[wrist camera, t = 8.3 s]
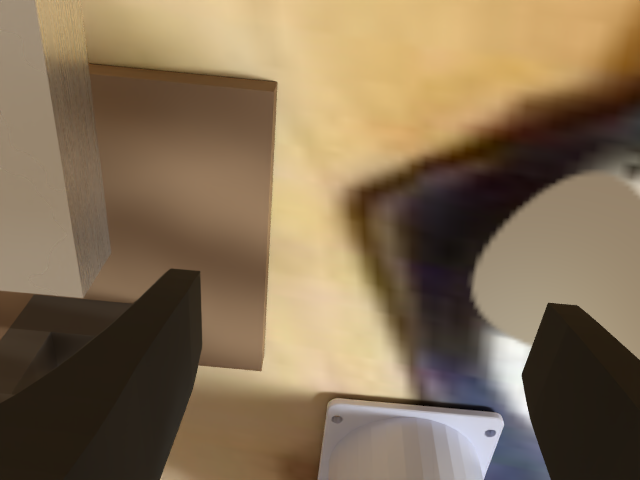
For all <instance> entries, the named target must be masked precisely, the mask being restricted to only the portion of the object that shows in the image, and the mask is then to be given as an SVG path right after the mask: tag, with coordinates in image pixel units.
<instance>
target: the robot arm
mask: <svg viewBox="0 0 640 480" xmlns="http://www.w3.org/2000/svg"><path fill="white" fill-rule="evenodd" d="M201 350H202V313H201V278H200V271H195V270H184V269H173V268H171V269H169V270H168V271H167V272H165V273H164V274H163V275H162V276H161V277H160V278H159V279H158V280H157V281H156V282H155V283H154V284H153V285H152V286H151V287H150V288H149V289H148V290H147V291H146V292H145V293H144V294H143V295H142V296H141V297H140V298H139V299H138V300H136V301H135V302H134V303H133V304H132V305H131V306H130V307H129V308H128V309H127V310H126V311H125V312H123V313H122V314H121V315H120V316H119V317H118V318H117V319H116V320H115V321H113V322H112V323H111V324H110V325H109V326H108V327H107V328H106V329H104V330H103V331H102V332H101V333H100V334H98V335H97V336H96V337H95V338H94V339H92V340H91V341H90V342H89V343H87V344H86V345H85V346H84V347H82V348H81V349H80V350H79V351H77V352H76V353H75V354H74V355H72V356H71V357H70V358H68V359H67V360H66V361H64V362H63V363H62V364H60V365H59V366H58V367H56V368H55V369H54V370H52V371H51V372H49V373H48V374H46V375H45V376H43V377H42V378H41V379H39V380H38V381H36V382H35V383H33V384H32V385H30V386H29V387H27V388H25V389H24V390H22V391H21V392H19V393H17V394H16V395H14V396H12V397H10V398H9V399H7V400H5V401H3V402H2V403H0V480H160V478H161V475H162V472H163V469H164V467H165V464H166V461H167V458H168V456H169V453H170V450H171V447H172V445H173V442H174V439H175V437H176V434H177V431H178V428H179V426H180V423H181V420H182V417H183V415H184V412H185V409H186V406H187V404H188V401H189V398H190V395H191V392H192V389H193V385H194V381H195V377H196V373H197V368H198V364H199V359H200V355H201ZM522 380H523V385H524V391H525V396H526V401H527V406H528V411H529V415H530V420H531V423H532V426H533V429H534V432H535V435H536V438H537V441H538V444H539V447H540V450H541V453H542V455H543V458H544V461H545V464H546V467H547V470H548V473H549V475H550V478H551V480H640V360H639V359H638V358H637V357H636V356H635V355H633V354H632V353H631V352H630V351H629V350H628V349H627V348H626V347H625V346H623V345H622V344H621V343H620V342H619V341H618V340H617V339H616V338H615V337H613V336H612V335H611V334H610V333H609V332H608V331H607V330H606V329H605V328H603V327H602V326H601V325H600V324H599V323H598V322H596V320H594V319H593V318H592V317H591V316H590V315H589V314H587V313H586V312H585V311H584V310H582V309H581V308H580V307H579V306H577V305H566V304H556V303H548V304H547V307H546V310H545V313H544V315H543V318H542V321H541V323H540V326H539V329H538V332H537V334H536V337H535V340H534V342H533V345H532V348H531V351H530V353H529V356H528V359H527V361H526V364H525V367H524V370H523V372H522ZM336 416H340V417H336ZM503 426H504V422H503V419H502V416H501V415H500V414H498V413H495V412H486V411H475V410H464V409H452V408H441V407H430V406H419V405H408V404H397V403H386V402H375V401H364V400H353V399H342V398H335V399H332V400H331V401H329V402H328V405H327V411H326V419H325V426H324V434H323V441H322V449H321V456H320V464H319V471H318V478H317V480H484V477H485V474H486V472H487V469H488V466H489V464H490V461H491V458H492V456H493V453H494V450H495V448H496V445H497V442H498V440H499V437H500V434H501V432H502V429H503ZM490 429H491V430H490Z"/></svg>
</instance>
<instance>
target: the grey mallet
mask: <svg viewBox="0 0 640 480" xmlns="http://www.w3.org/2000/svg"><path fill="white" fill-rule="evenodd" d="M110 254H111V245H110V237H109V228H108V220H107V212H106V204H105V196H104V188H103V179H102V171H101V163H100V155H99V147H98V139H97V130H96V122H95V114H94V106H93V98H92V90H91V82H90V73H89V65H88V57H87V49H86V41H85V33H84V24H83V16H82V8H81V0H0V291H11V292H22V293H33V294H43V295H54V296H65V297H76V298H84V296H85V294H86V293H87V291H88V290H89V288H90V286H91V285H92V283H93V282H94V280H95V278H96V277H97V275H98V273H99V272H100V270H101V269H102V267H103V265H104V264H105V262H106V261H107V259H108V257H109V256H110Z"/></svg>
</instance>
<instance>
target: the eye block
mask: <svg viewBox="0 0 640 480" xmlns="http://www.w3.org/2000/svg"><path fill="white" fill-rule="evenodd" d="M88 65H89V73H90V82H91V90H92V98H93V106H94V114H95V122H96V130H97V139H98V147H99V155H100V163H101V171H102V179H103V188H104V196H105V204H106V212H107V220H108V228H109V237H110V245H111V254H110V256H109V257H108V259H107V261H106V262H105V264H104V265H103V267H102V269H101V270H100V272H99V273H98V275H97V277H96V278H95V280H94V282H93V283H92V285H91V286H90V288H89V290H88V291H87V293H86V294H85V296H84V298H76V297H65V296H54V295H43V294H33V293H22V292H11V291H0V403H2V402H3V401H5V400H7V399H9V398H10V397H12V396H14V395H16V394H17V393H19V392H21V391H22V390H24V389H25V388H27V387H29V386H30V385H32V384H33V383H35V382H36V381H38V380H39V379H41V378H42V377H43V376H45V375H46V374H48V373H49V372H51V371H52V370H54V369H55V368H56V367H58V366H59V365H60V364H62V363H63V362H64V361H66V360H67V359H68V358H70V357H71V356H72V355H74V354H75V353H76V352H77V351H79V350H80V349H81V348H82V347H84V346H85V345H86V344H87V343H89V342H90V341H91V340H92V339H94V338H95V337H96V336H97V335H98V334H100V333H101V332H102V331H103V330H104V329H106V328H107V327H108V326H109V325H110V324H111V323H112V322H113V321H115V320H116V319H117V318H118V317H119V316H120V315H121V314H122V313H123V312H125V311H126V310H127V309H128V308H129V307H130V306H131V305H132V304H133V303H134V302H135V301H136V300H138V299H139V298H140V297H141V296H142V295H143V294H144V293H145V292H146V291H147V290H148V289H149V288H150V287H151V286H152V285H153V284H154V283H155V282H156V281H157V280H158V279H159V278H160V277H161V276H162V275H163V274H164V273H165V272H167V271H168V270H169V269H171V268H173V269H184V270H195V271H200V278H201V313H202V350H201V355H200V359H199V364H198V365H200V366H211V367H222V368H233V369H244V370H255V371H261V370H262V364H263V358H264V346H265V326H266V305H267V285H268V264H269V244H270V223H271V203H272V182H273V162H274V141H275V121H276V100H277V82H271V81H261V80H251V79H240V78H230V77H220V76H210V75H199V74H189V73H179V72H169V71H158V70H148V69H138V68H128V67H117V66H107V65H97V64H88Z"/></svg>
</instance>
